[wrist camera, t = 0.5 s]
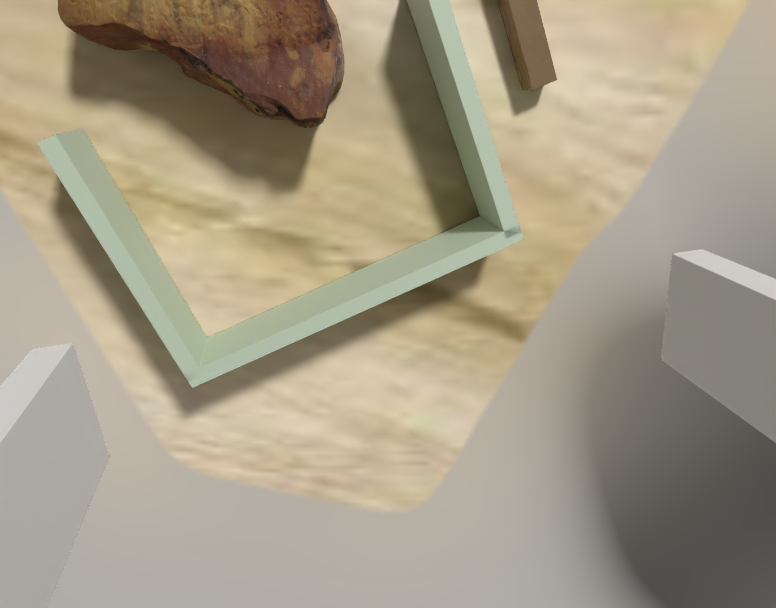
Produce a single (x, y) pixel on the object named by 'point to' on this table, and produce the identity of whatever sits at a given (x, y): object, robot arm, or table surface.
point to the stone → (231, 46)
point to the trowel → (528, 42)
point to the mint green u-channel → (334, 299)
